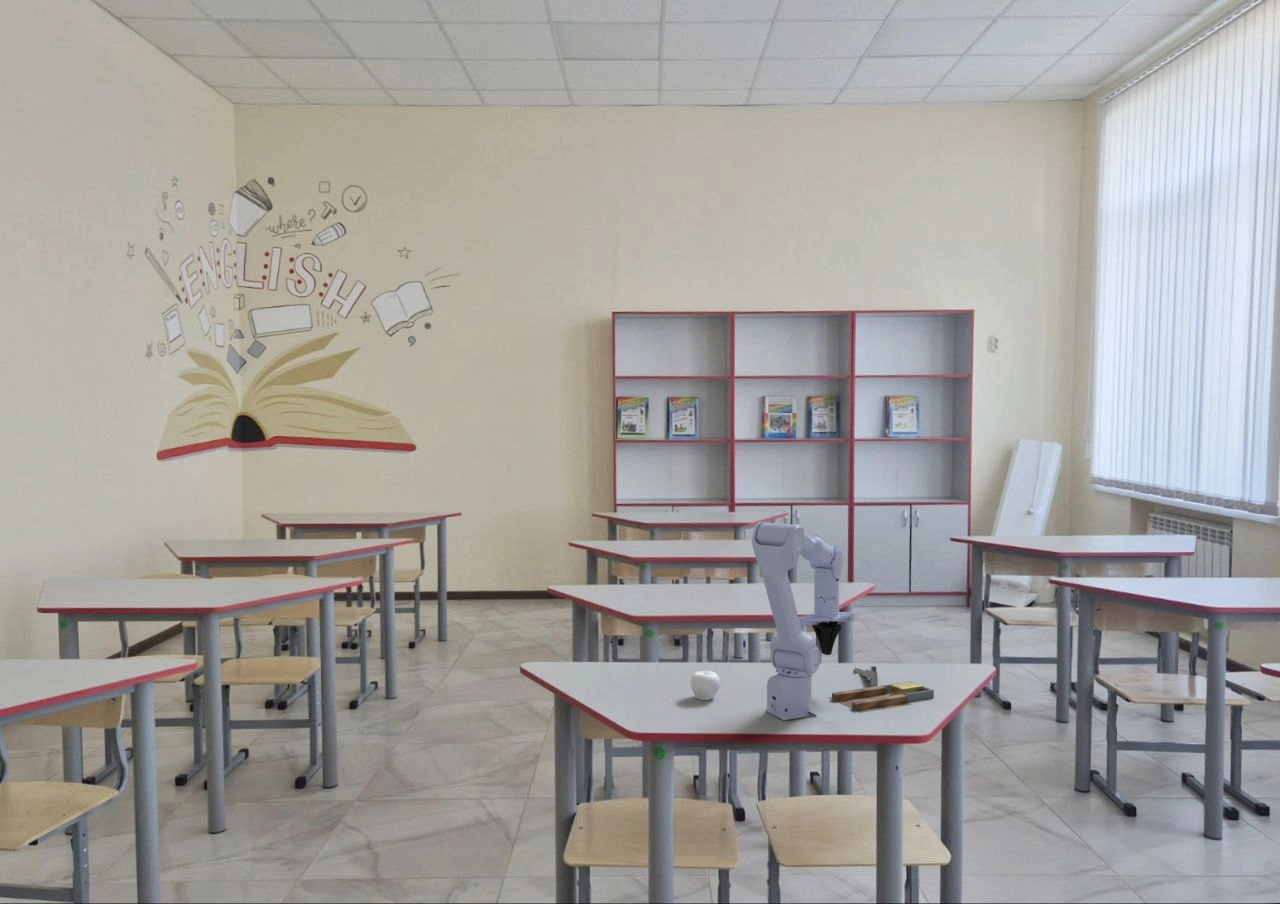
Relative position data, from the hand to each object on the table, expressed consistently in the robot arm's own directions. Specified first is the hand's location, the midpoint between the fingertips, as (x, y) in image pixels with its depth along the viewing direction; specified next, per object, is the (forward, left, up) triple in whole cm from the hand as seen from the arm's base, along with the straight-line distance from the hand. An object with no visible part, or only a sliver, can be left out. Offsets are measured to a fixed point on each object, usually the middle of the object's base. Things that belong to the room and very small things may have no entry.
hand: (826, 653), depth 220 cm
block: (+15, -11, -10) cm, 21 cm away
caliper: (+16, +6, -10) cm, 20 cm away
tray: (+15, -11, -10) cm, 21 cm away
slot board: (+4, -11, -10) cm, 15 cm away
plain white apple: (-27, +10, -10) cm, 31 cm away
